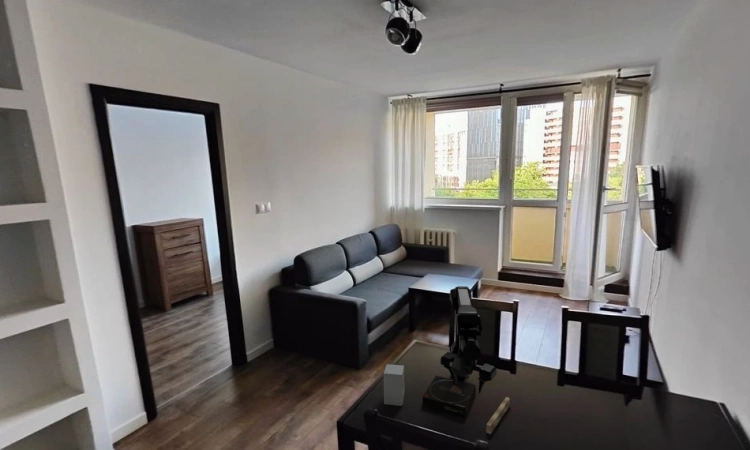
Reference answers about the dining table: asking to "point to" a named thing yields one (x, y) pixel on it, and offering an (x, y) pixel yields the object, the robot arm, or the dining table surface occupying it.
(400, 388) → the supplement box
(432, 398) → the portable cd player
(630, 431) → the dining table surface
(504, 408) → the oak rail
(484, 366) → the robot arm
